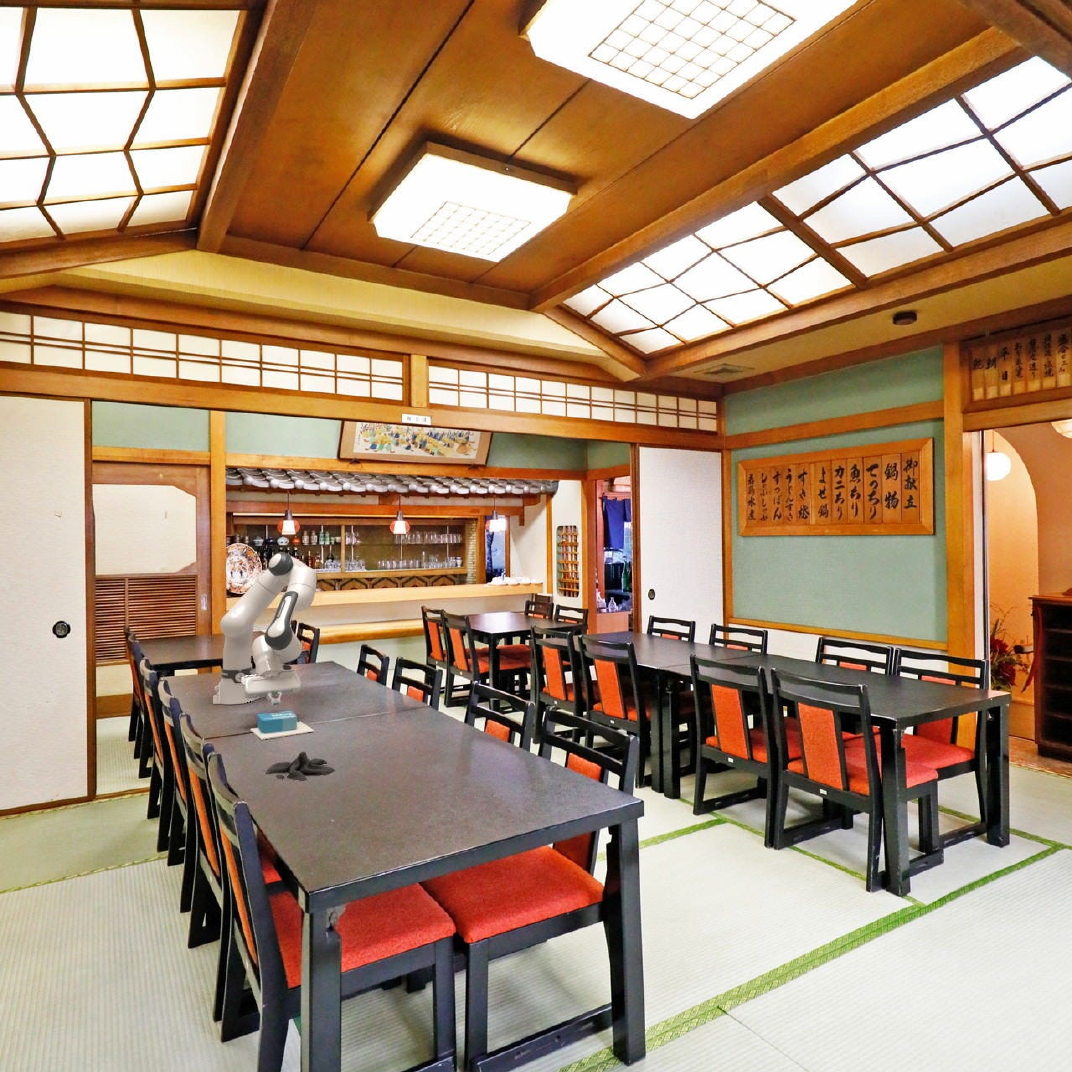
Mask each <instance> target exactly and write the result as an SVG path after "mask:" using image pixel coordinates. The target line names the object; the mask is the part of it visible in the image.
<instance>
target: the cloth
mask: <svg viewBox="0 0 1072 1072" xmlns="http://www.w3.org/2000/svg"><path fill="white" fill-rule="evenodd" d="M327 763H328V762H327V761H326V760H325V759H322V758H312V759H310V758H309V757H308V755H307V753H306V751H302V752H300V753H299V754H298V756H297V757H296V758H295V759H294V760H293V761H292V762H290V761H283V762H276V763H274V764H272V765H271V766H270V767H269V768H267V769H266V772H265V775H267V774H269V775H273V774H275V777H276V778H277V780H279V779H282V780H281V781H284V780H283V779H285V777H284V776H285V775H284V776H283V774H287V775H288V774H289V775H288V776H287V775H286V776H287V777H286V778H287V779H288V780H292V779H293V780H292V781H295V780H299V781H298V782H305V780H306V781H308V778H307V777H306V775H316V774H319V775H318V776H320V775H324V776H326V774H327V775H329V774H331V772H332V773H334V772H335V771H336V769H334V768H333V767H331V766H327V765H323V764H327ZM321 765H322V766H321ZM333 771H334V772H333Z"/></svg>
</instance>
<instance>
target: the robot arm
mask: <svg viewBox="0 0 1072 1072" xmlns="http://www.w3.org/2000/svg"><path fill="white" fill-rule="evenodd" d="M317 582H318V575H317V572H316V571H315V569H313V568H312V567H309V566H308V565H306V564H305V563H304V562H303V561H301V560H299V559H298V558H295V557H294V556H292V555H290V554H289V553H287V552H284V551H279V552H276V553H275V554H273V555H272V557H271V558H270V559H269V561H268V564H267V569H266V570H265V571H263V572H262V573H261V575H259V576H258V578H257V579H256V580H255V581H254V582H253V584H252V585H250V587H249V588H248V590H247V591H245V593H244V594H243V595H242V596H241V597H240V598H239V599H238V600H237V601H236V603H234V604H233V605H232V606H231V608H230V609H229V610H228V611H227V612H225V614H224V615H223V616H222V618H221V620H220V623H219V628H220V632H222V634H223V635H225V636H224V637H225V639H224V645H223V649H222V669H221V679H220V681H219V682H218V684H217V685H215V686H214V692H215V693H216V694H214V695H213V696H212V704H213V705H240V704H247V702H248V703H250V701H251V702H254V701H256V700H259V698H260V699H261V698H263V697H264V698H265V697H266V699H267V700H268V701H269V702H270V703H271V706H277V705H281V703H282V702H281V698H282V696H283V695H289V694H290V695H292V694H298V693H300V691H301V688H302V682H301V679H300V677H299V674H298V673H297V672H296V671H295V666H294V665H292V664H287V663H291V662H293V661H296V659H298V658H299V657H300V656H301V655H302V653H303V644H302V642H301V641H300V639H299V638H298V636H296V634H295V632H294V631H293V629H292V626H291V622H292V619H293V616H294V613H295V612H296V611H298V612H299V611H300V612H302V611H305V610H307V609H309V608H310V607H311V606H312V604H313V602H314V599H315V594H316V589H317ZM285 587H287V588H286V592H285V593H284V594H283V596H282V597H281V599H280V600H279V601H280V602H279V604H278V607H277V608H276V609H277V610H276V612H275V615H274V617H273V620H272V621H271V623H270V625H269V626H268V627H267V629H266V630H265V631H264V634H262V635H259V636H258V637H256V638H255V639H254V641H253V635H254V634H253V633H254V623H255V622H256V620H258V618H259V617H261V615H262V614H263V613H264V612H265V611H266V610H267V609H268V608H269V606H270V605H272V603H273V601H275V599H276V598H277V597H278V596H279V594H281V592H282V591H283V589H284V588H285ZM252 658H253V659H252ZM252 660H253V662H254V663H253V664H255V674H253V667H252ZM275 696H276V698H275Z"/></svg>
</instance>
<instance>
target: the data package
mask: <svg viewBox="0 0 1072 1072" xmlns="http://www.w3.org/2000/svg"><path fill="white" fill-rule="evenodd" d="M297 722H298V716H297V715H296V714H295V713H294V712H293V711H292V710H281V711H274V712H273V711H272V712H262V713H259V714H257V724H256V726H257V727H256V728H259V730H260V731H261V732H262V733H272V732H280V731H288V730H295V729H297Z"/></svg>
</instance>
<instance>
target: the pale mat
mask: <svg viewBox="0 0 1072 1072" xmlns="http://www.w3.org/2000/svg"><path fill="white" fill-rule="evenodd" d="M249 730H250V732H251V733H252V732H253V733H252V734H254V735H255V736H256V737H257V738H258V737H259V738H260V739H261V740H260V739H259V738H258V739H259V740H260V741H266V740H265V739H268V740H271V739H270V738H275V737H281V738H286V737H285V736H288V737H290V736H289V735H294V734H295V735H294V736H297V735H296V734H300V733H307V732H314V733H315V730H314V728H311V727H310V726H309V725H307V724H306V723H303V722H302V721H297V729H295V730H288V731H280V732H272V733H262V732H261V731H260V730H259V728H258V727H253V728H250V729H249ZM307 734H308V733H307ZM275 739H276V738H275Z"/></svg>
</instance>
